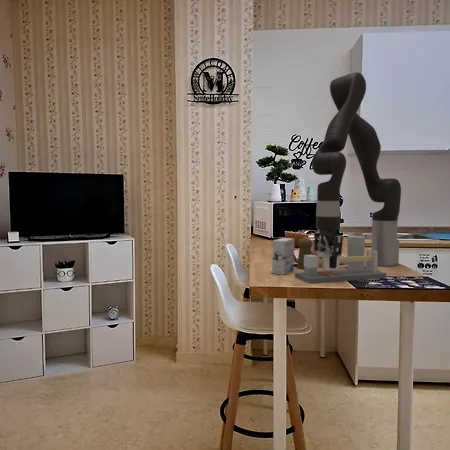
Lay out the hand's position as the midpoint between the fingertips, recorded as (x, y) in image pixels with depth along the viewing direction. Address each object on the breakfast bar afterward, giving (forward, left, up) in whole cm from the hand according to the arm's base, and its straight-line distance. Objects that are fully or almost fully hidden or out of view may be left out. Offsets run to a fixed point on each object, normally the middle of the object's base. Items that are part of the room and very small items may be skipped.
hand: (327, 266), depth 135 cm
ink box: (+9, -14, -4) cm, 17 cm away
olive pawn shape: (-2, -19, -4) cm, 20 cm away
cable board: (-5, 0, -4) cm, 6 cm away
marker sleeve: (0, 0, -1) cm, 1 cm away
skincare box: (-19, -12, -4) cm, 23 cm away
